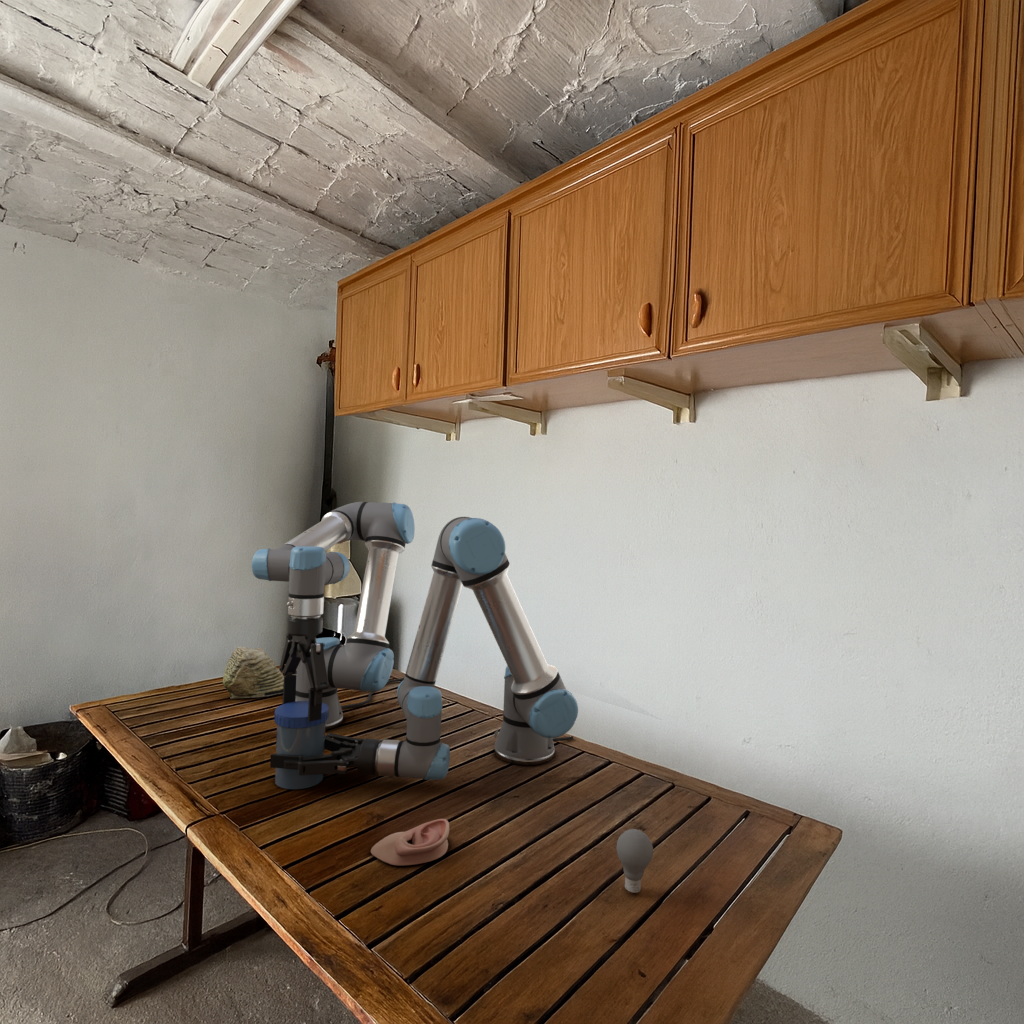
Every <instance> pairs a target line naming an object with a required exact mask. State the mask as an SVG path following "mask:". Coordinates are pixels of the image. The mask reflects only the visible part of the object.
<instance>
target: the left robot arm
mask: <svg viewBox="0 0 1024 1024" xmlns="http://www.w3.org/2000/svg"><path fill="white" fill-rule="evenodd" d="M415 530H416V529H415V519H414V515H413V511H412V509H411V507H410V506H408V504H405V503H397V502H375V501H355V502H351V503H348V504H344V505H342V506H340V507H336V508H335V509H332V510H330V511H329V512H327V513H326V514H324V515H323V516H322V518H321V521H319V522H318V523H316V524H315V525H312V526H311V527H309V528H308V529H306V530H304V531H303V532H301V533H300V534H298V535H296V536H295V537H293V538H291V539H290V540H288V541H286V542H285V543H283V544H282V545H280V546H278V547H276V548H273V549H272V548H260V549H258V550H257V551H256V552H255V553H254V554H253V556H252V558H251V564H250V565H251V572H252V574H253V576H254V577H255V578H256V579H257V580H264V581H268V582H287V583H288V587H289V588H288V602H286V606H287V608H288V609H287V614H288V615H289V616H288V617H287V619H286V621H287V623H286V625H287V626H286V635H285V636H286V637H285V642H284V643H285V644H284V648H283V651H282V656H281V659H280V663H279V668H278V669H279V670H280V672H281V673H282V675H283V676H284V683H283V693H282V705H283V704H286V703H290V702H295V701H309V704H308V721H309V722H310V721H315V720H320V719H321V712H322V703H324V704H326V705H327V706H328V709H329V713H328V719H327V720H326V723H325V731H329V730H332V729H335V728H337V727H339V726H340V725H342V723H343V722H344V714H343V709H349V708H356V707H360V706H365V705H366V704H368V703H369V702H371V701H372V695H373V692H379V691H381V690H382V689H383V688H384V687H385V686H386V685H387V684H391V683H397V682H402V681H403V680H404V677H400V678H395V679H390V677H391V675H392V672H393V669H394V663H395V660H394V658H395V655H394V652H393V650H392V649H391V648H390V641H388V639H387V637H386V632H387V626H388V620H389V613H390V608H391V602H392V596H393V591H394V583H395V577H396V571H397V566H398V560H399V556H400V554H402V553H403V552H405V549H406V544H407V545H409V544H411V543H412V542H413V540H414V539H415V538H414V537H415ZM347 541H363V542H364V546H365V548H367V550H368V554H367V559H366V565H365V569H364V575H363V580H362V586H361V591H360V595H359V602H358V607H357V608H358V609H357V612H356V613H357V614H356V618H355V625H354V630H353V632H352V633H351V634H350V635H349V636H347V638H346V641H345V644H340V643H341V641H340V639H339V638H338V637H334V636H331V637H330V636H329V637H318V638H317V636H318V635H320V634H322V633H323V625H324V624H323V623H324V618H323V616H322V615H323V614H324V609H325V608H324V605H325V604H324V603H325V586H329V585H335V584H338V583H339V582H342V581H344V580H345V579H346V578H347V577H348V575H349V573H350V571H351V570H350V569H351V564H350V561H349V559H348V557H347V556H346V555H345V554H344V553H342V552H339V551H328V550H330V549H331V548H332V547H334V546H335V545H336V544H337V545H339V544H343V543H346V542H347ZM327 551H328V552H327ZM338 689H339V690H340V689H341V690H351V691H359V692H365V693H366V692H369V693H368V695H367V699H366V700H363V701H361V702H356V703H351V704H344V705H341V702H340V699H339V695H338Z"/></svg>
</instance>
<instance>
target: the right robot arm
mask: <svg viewBox="0 0 1024 1024" xmlns="http://www.w3.org/2000/svg"><path fill="white" fill-rule="evenodd" d="M430 567H431V569H432V571H433V574H432V577H431V581H430V585H429V589H428V591H427V595H426V599H425V602H424V607H423V610H422V613H421V616H420V620H419V624H418V628H417V631H416V634H415V638H414V642H413V646H412V648H411V653H410V656H409V660H408V664H407V667H406V670H405V675H404V677H403V678H404V680H403V681H400V683H399V684H398V687H397V688H396V697H397V702H398V704H399V706H400V708H401V710H402V712H403V715H404V717H405V719H406V736H405V740H398V739H384V738H383V740H381V739H379V738H358V737H357V738H356V737H351V736H346V735H341V734H337V733H332V732H328V733H327V734H326V735H325V749H324V751H326V750H327V751H329V752H331V753H327V754H324V755H320V756H313V757H306V758H303V756H302V755H300V756H298V755H284V754H276V753H271V754H270V765H269V766H270V768H271V769H275V768H284V769H298V770H299V773H298V775H317V774H324V775H331V774H336V775H337V774H338V775H346V774H347V771H348V768H356V769H357V771H358V773H359V774H360V775H363V776H376V775H378V776H380V777H389V778H390V779H393V778H406V779H408V778H409V779H416V780H417V779H419V780H424V781H436V780H437V781H439V780H440V781H441V780H444V779H445V778H446V777H447V775H448V773H449V768H450V762H451V761H450V760H451V747H450V745H449V744H448V743H444V742H442V739H441V730H442V729H441V728H442V714H443V713H442V712H443V711H442V710H443V695H442V691H441V690H440V689H438V688H436V687H435V686H436V682H437V678H438V674H439V671H440V668H441V665H442V664H441V663H442V660H443V656H444V652H445V649H446V646H447V642H448V639H449V635H450V632H451V628H452V624H453V621H454V617H455V613H456V611H457V607H458V603H459V600H460V596H461V592H462V589H463V587H464V588H466V589H469V590H471V591H472V592H473V594H474V597H475V598H476V600H477V603H478V605H479V607H480V609H481V612H482V614H483V616H484V618H485V620H486V623H487V624H488V626H489V629H490V631H491V634H492V635H493V638H494V640H495V642H496V644H497V646H498V648H499V651H500V653H501V655H502V657H503V659H504V661H505V663H506V667H505V671H504V676H503V679H504V685H503V688H504V689H503V712H502V713H503V714H502V723H501V726H500V729H499V728H497V729H496V730H495V731H494V734H493V735H494V736H493V737H494V738H493V739H496V740H495V743H494V754H495V756H496V757H497V758H499V759H500V760H502V761H504V762H506V763H509V764H514V765H519V766H534V765H535V766H537V765H543V764H545V763H548V762H550V761H551V760H553V758H554V757H555V742H563V741H572V740H574V735H571V737H570V736H565V735H566V734H567V733H568V732H569V731H570V730H571V729H572V728H573V727H574V725H575V724H576V721H577V718H578V716H579V704H578V702H577V700H576V698H575V696H574V695H573V693H572V692H571V691H569V690H568V689H567V688H566V685H565V684H564V682H563V681H564V680H563V679H562V677H561V675H560V672H559V670H558V668H557V667H556V666H555V665H552V664H549V663H548V662H547V660H546V658H545V655H544V653H543V651H542V648H541V646H540V644H539V642H538V640H537V637H536V635H535V633H534V631H533V629H532V626H531V624H530V622H529V619H528V617H527V615H526V613H525V611H524V608H523V607H522V604H521V602H520V600H519V597H518V595H517V593H516V591H515V588H514V586H513V584H512V582H511V580H510V577H509V575H508V572H509V570H510V567H511V563H510V561H509V559H508V556H507V554H506V541H505V538H504V535H503V534H502V532H501V531H500V529H499V528H498V527H497V526H495V525H494V524H493V523H491V521H489V520H486V519H484V518H481V517H479V518H478V517H469V516H458V517H455V518H452V519H451V520H449V521H448V522H447V523H446V524H445V525H444V526H443V527H442V528H441V530H440V532H439V535H438V538H437V542H436V546H435V550H434V554H433V558H432V561H431V565H430ZM563 736H564V737H563Z"/></svg>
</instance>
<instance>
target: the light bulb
mask: <svg viewBox="0 0 1024 1024" xmlns="http://www.w3.org/2000/svg"><path fill="white" fill-rule="evenodd" d="M615 849H616V854H617V857H618V859H619V861H620V863H621V865H622V867H623V873H624V874H623V875H624V876H625V878H624V888H625V890H627V891H628V892H630V893H634V894H635V893H639V892H640V891H641V889H642V887H641V886H642V879H643V877H644V875H645V871H646V868H647V867H648V866H649V864H650V863H651V861H652V859H653V855H654V847H653V843H652V841H651V838H649V836H648V835H647V834H646V833H645V832H643V831H642V830H641V829H636V828H629V829H627V830H625V831H623V832H622V833H621V834H620V835H619V837H618V839H617V841H616V847H615Z"/></svg>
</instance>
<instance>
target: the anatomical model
mask: <svg viewBox="0 0 1024 1024" xmlns="http://www.w3.org/2000/svg"><path fill="white" fill-rule="evenodd" d="M449 835H450V823H449V821H448V819H446V818H437V819H434V820H430V821H427V822H425V823H421V824H419V825H417V826H415V827H413V828H411V829H407V830H405V831H398V832H393V833H391V834H389V835H387V836H384V837H383V838H382V839H380V840H379V841H377V842H376V843H375V844H374V845H373V846H372V847H371V849H370V853H371V855H372V856H374V858H377V859H378V860H380V861H381V862H383V863H386V864H388V865H392V866H399V867H400V866H412V865H419V864H420V865H421V864H425V863H428V862H432V861H435V860H438V859H439V858H441V857H443V856H444V855H445V854H446V853H447V851H448V849H449V841H448V837H449Z"/></svg>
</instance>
